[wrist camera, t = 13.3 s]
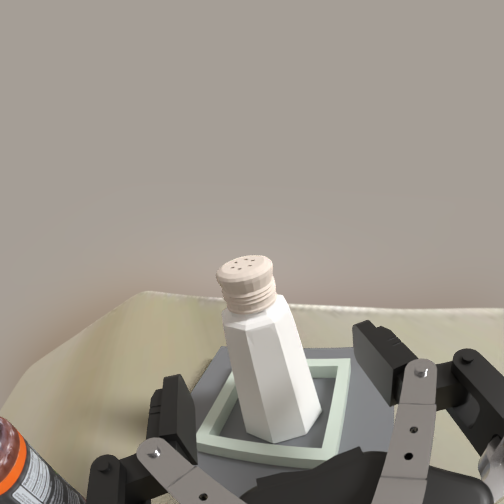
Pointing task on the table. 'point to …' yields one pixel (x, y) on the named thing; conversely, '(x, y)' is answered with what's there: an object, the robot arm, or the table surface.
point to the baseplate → (297, 449)
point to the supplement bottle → (29, 473)
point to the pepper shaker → (266, 353)
